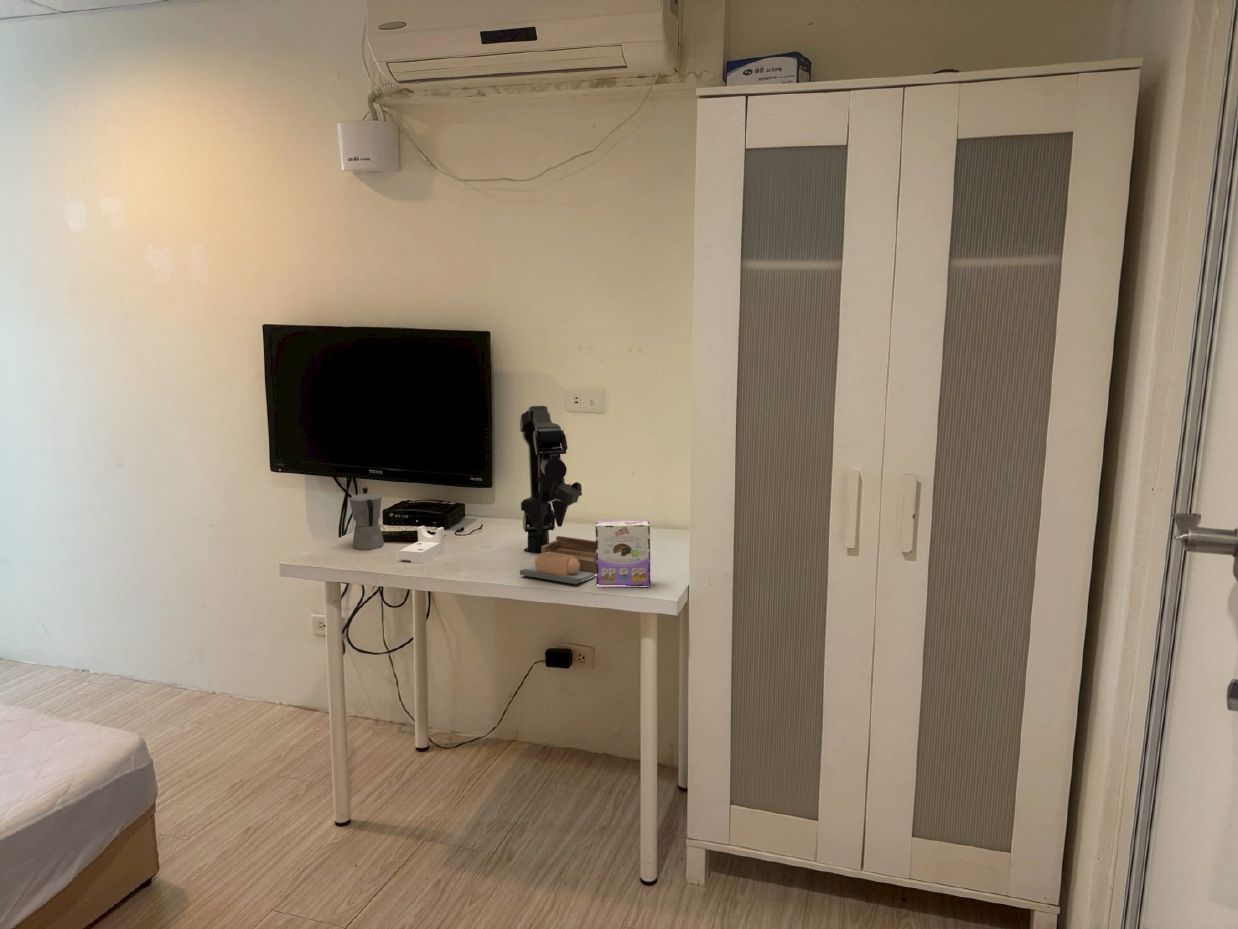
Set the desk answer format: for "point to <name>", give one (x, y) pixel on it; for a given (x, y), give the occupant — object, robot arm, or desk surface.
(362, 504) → the coffeepot
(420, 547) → the bracket
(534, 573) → the panel
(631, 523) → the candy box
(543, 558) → the dome topped block
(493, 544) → the desk surface
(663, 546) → the desk surface
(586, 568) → the tray
